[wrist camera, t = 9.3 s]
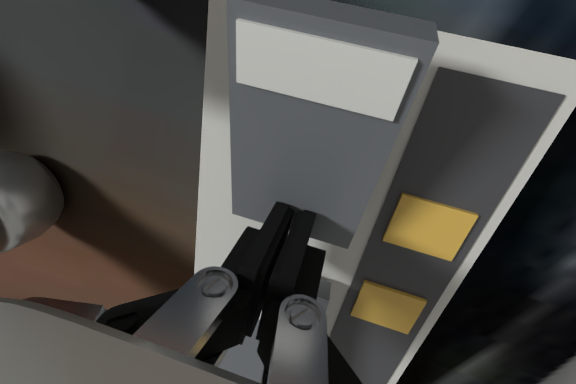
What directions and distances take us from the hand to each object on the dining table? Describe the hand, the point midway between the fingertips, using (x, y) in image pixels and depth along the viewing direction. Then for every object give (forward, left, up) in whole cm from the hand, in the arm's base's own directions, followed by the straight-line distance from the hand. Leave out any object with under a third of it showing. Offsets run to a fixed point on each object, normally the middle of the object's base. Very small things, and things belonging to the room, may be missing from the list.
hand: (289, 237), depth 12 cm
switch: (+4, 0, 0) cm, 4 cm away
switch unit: (-7, -1, -6) cm, 9 cm away
